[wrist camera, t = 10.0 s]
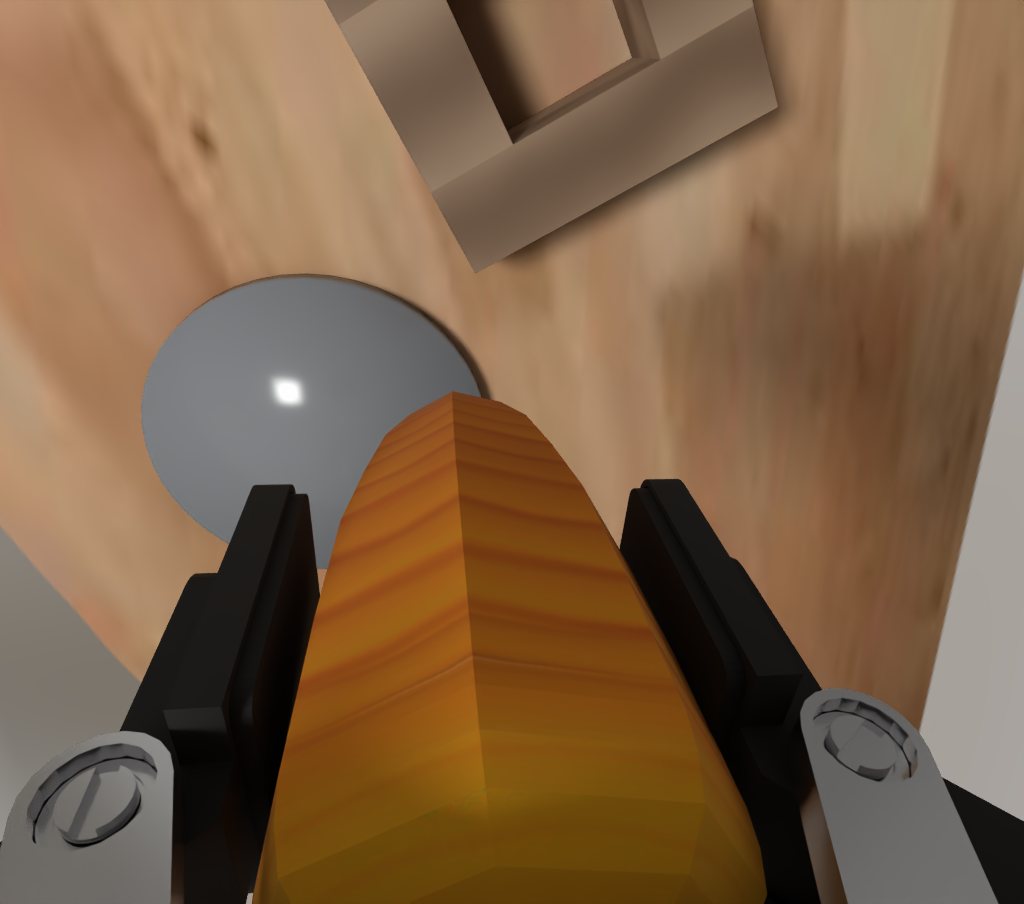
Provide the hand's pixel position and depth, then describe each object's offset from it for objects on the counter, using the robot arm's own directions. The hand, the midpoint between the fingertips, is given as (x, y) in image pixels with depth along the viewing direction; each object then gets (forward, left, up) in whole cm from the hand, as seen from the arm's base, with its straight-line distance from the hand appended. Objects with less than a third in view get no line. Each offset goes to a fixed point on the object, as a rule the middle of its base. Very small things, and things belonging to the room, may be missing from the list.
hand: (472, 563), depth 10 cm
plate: (-7, +11, -25) cm, 28 cm away
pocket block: (+5, -8, -25) cm, 26 cm away
